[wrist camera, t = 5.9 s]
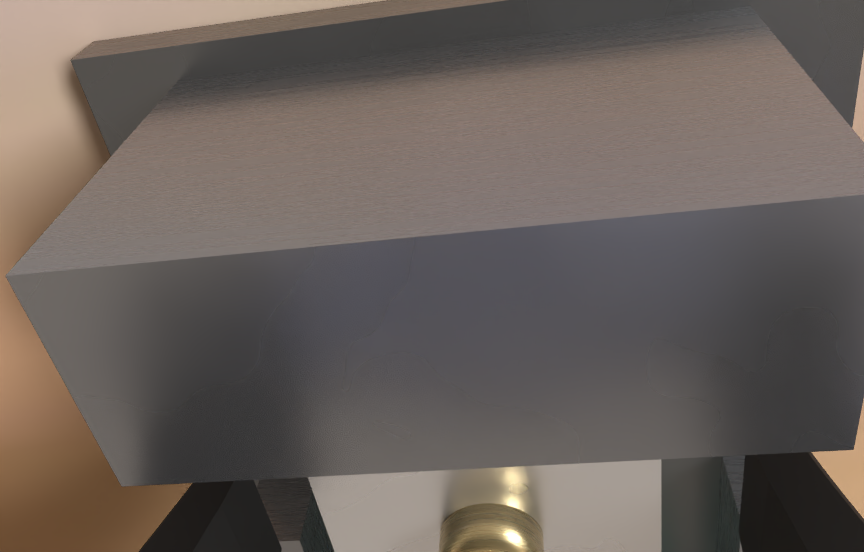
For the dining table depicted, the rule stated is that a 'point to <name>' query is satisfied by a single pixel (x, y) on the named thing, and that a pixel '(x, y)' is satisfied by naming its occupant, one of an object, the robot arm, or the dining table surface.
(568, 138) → the press
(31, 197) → the dining table surface
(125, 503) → the dining table surface
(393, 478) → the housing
